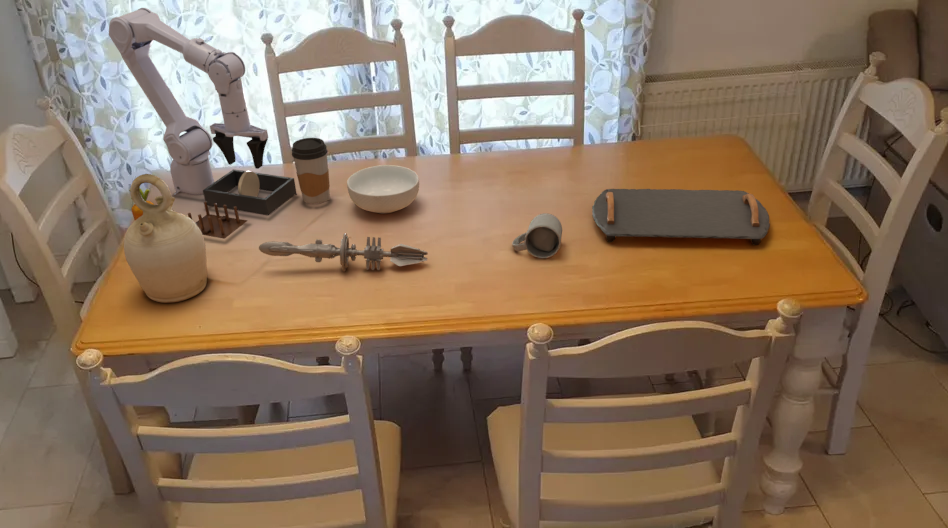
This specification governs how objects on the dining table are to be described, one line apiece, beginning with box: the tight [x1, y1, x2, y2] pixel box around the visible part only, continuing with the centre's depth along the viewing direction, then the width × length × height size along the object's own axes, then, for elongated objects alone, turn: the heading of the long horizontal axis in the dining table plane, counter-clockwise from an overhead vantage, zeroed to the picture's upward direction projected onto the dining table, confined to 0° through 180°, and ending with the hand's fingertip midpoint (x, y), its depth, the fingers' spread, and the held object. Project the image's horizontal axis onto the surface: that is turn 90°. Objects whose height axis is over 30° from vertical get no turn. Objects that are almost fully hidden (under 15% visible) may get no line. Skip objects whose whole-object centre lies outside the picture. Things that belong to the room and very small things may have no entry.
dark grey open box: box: [203, 168, 298, 216], centre depth 205 cm, size 18×13×5 cm
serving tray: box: [591, 188, 771, 246], centre depth 189 cm, size 39×23×6 cm, turn 84°
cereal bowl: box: [346, 164, 420, 215], centre depth 200 cm, size 17×17×7 cm
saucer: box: [237, 170, 260, 197], centre depth 203 cm, size 1×8×8 cm, turn 158°
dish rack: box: [187, 200, 248, 240], centre depth 194 cm, size 11×9×5 cm
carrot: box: [128, 188, 155, 221], centre depth 184 cm, size 5×5×15 cm
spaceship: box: [258, 232, 428, 272], centre depth 176 cm, size 8×35×8 cm
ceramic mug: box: [511, 212, 563, 259], centre depth 181 cm, size 11×8×8 cm
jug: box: [123, 173, 208, 304], centre depth 168 cm, size 15×16×25 cm
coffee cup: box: [291, 137, 331, 205], centre depth 201 cm, size 8×8×15 cm
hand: (245, 165), depth 201 cm, fingers open, 7 cm apart
